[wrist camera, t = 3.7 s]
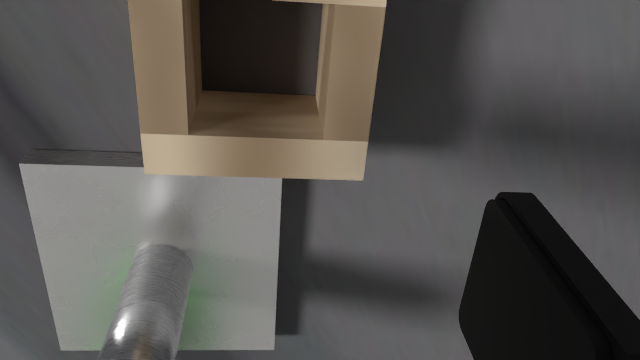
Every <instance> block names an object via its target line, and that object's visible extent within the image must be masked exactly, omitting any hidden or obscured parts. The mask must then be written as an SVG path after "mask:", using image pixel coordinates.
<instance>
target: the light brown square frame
mask: <svg viewBox="0 0 640 360" xmlns="http://www.w3.org/2000/svg"><path fill="white" fill-rule="evenodd" d="M274 1H291V2H307V3H322V17H321V30H320V43H319V56H318V69H317V83H316V96H315V95H293V94H270V93H247V92H225V91H202V73H201V43H200V13H199V0H128V8H129V18H130V29H131V39H132V49H133V60H134V70H135V81H136V91H137V101H138V112H139V122H140V133H141V143H142V153H143V164H144V174H153V175H188V176H223V177H258V178H293V179H328V180H362V181H363V177H364V169H365V162H366V154H367V147H368V139H369V132H370V124H371V116H372V109H373V101H374V94H375V86H376V79H377V71H378V63H379V56H380V48H381V41H382V33H383V26H384V18H385V11H386V3H387V0H274Z"/></svg>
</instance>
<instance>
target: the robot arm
mask: <svg viewBox="0 0 640 360" xmlns="http://www.w3.org/2000/svg"><path fill="white" fill-rule="evenodd" d="M459 323H460V327H461V330H462V333H463V335H464V337H465V340H466V342H467V344H468V347H469V349H470V351H471V354H472V356H473V358H474V360H640V320H639V319H638V318H637V316H636V315H635V314H634V313H633V312H632V310H631V309H630V308H629V307H628V306H627V304H626V303H625V302H624V301H623V300H622V299H621V297H620V296H619V295H618V294H617V293H616V291H615V290H614V289H613V288H612V287H611V285H610V284H609V283H608V282H607V281H606V280H605V278H604V277H603V276H602V275H601V274H600V272H599V271H598V270H597V269H596V268H595V266H594V265H593V264H592V263H591V262H590V260H589V259H588V258H587V257H586V256H585V255H584V253H583V252H582V251H581V250H580V249H579V247H578V246H577V245H576V244H575V243H574V241H573V240H572V239H571V238H570V237H569V235H568V234H567V233H566V232H565V231H564V230H563V228H562V227H561V226H560V225H559V224H558V222H557V221H556V220H555V219H554V218H553V216H552V215H551V214H550V213H549V212H548V210H547V209H546V208H545V207H544V206H543V205H542V203H541V202H540V201H539V200H538V199H537V197H536V196H535V195H534V194H532V193H521V192H500V193H499V194H498V195H497V196H496V198H495V200H493V199H491V200H489V201H488V202H487V204H486V207H485V210H484V214H483V218H482V222H481V226H480V230H479V234H478V238H477V242H476V246H475V250H474V254H473V257H472V261H471V265H470V269H469V273H468V277H467V281H466V285H465V289H464V293H463V297H462V301H461V305H460V309H459Z"/></svg>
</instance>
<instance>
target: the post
mask: <svg viewBox="0 0 640 360" xmlns="http://www.w3.org/2000/svg"><path fill="white" fill-rule="evenodd" d="M19 166H20V170H21V175H22V179H23V184H24V188H25V193H26V197H27V202H28V206H29V211H30V215H31V219H32V224H33V228H34V233H35V237H36V242H37V246H38V251H39V255H40V260H41V264H42V268H43V273H44V277H45V282H46V286H47V291H48V295H49V300H50V304H51V309H52V313H53V317H54V322H55V326H56V331H57V335H58V340H59V344H60V349H61V350H101V351H100V354H99V357H98V360H176V356H177V351H178V350H274V341H275V320H276V299H277V278H278V257H279V236H280V214H281V193H282V178H258V177H223V176H188V175H153V174H144V164H143V153H130V152H99V151H68V150H38V149H31V150H30V151H29V152H28V153H27V155H26V156H25V157H24V158H23V159H22V161H21V162H20V163H19Z"/></svg>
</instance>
